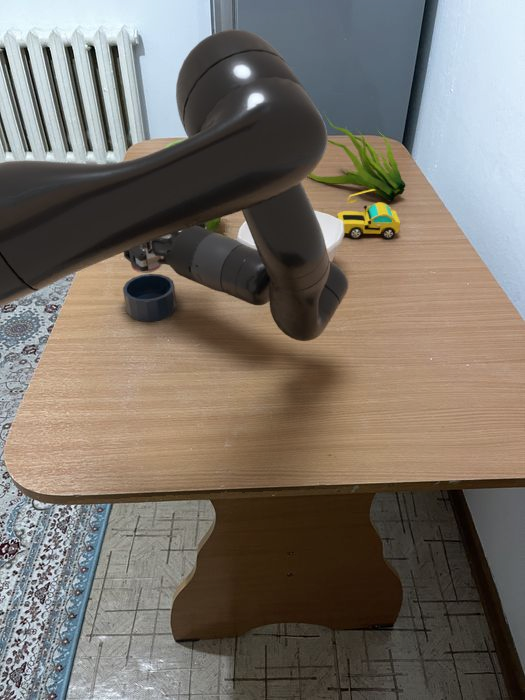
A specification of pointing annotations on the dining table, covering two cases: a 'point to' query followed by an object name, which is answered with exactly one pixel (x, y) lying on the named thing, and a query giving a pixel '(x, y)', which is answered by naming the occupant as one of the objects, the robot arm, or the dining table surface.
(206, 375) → the dining table surface
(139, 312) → the bottle holder
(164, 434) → the dining table surface
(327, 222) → the bowl
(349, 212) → the toy car
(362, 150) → the decorative plant
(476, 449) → the dining table surface
